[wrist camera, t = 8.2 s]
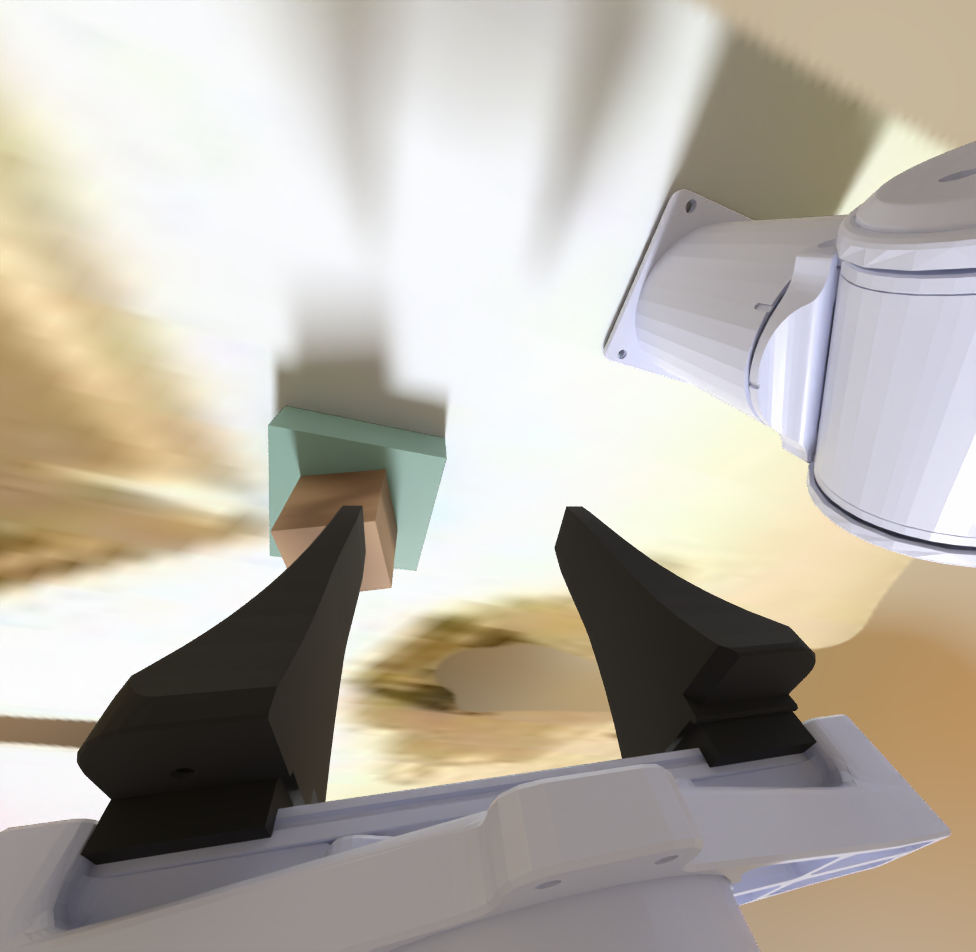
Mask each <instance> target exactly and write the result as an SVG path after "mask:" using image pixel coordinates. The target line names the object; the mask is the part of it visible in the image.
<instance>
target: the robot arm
mask: <svg viewBox="0 0 976 952" xmlns="http://www.w3.org/2000/svg"><path fill="white" fill-rule="evenodd" d="M688 201H690V202H691V204H692V206H691V209H690V211H689V212H688V213H687V212H686V204H687V203H688ZM621 350H624V353H623V355H622V356H621V357H618V353H619V352H620V351H621ZM604 356H605V358H607V359H608V360H610V361H613V362H616V363H620V364H623V365H627V366H630V367H634V368H637V369H641V370H644V371H648V372H651V373H654V374H658V375H661V376H665V377H668V378H672V379H675V380H679V381H682V382H686V383H689V384H692V385H693V386H695V387H697V388H699V389H701V390H703V391H704V392H706V393H708V394H710V395H712V396H714V397H715V398H717V399H719V400H721V401H723V402H725V403H726V404H728V405H730V406H732V407H734V408H735V409H737V410H739V411H741V412H743V413H745V414H746V415H748V416H750V417H752V418H754V419H756V420H757V421H759V422H761V423H763V424H765V425H767V426H769V427H770V428H772V429H774V430H775V431H776V432H778V433H779V435H780V436H781V439H782V447H783V449H785V450H787V451H788V452H790V453H792V454H794V455H795V456H797V457H799V458H800V459H802V460H804V461H805V462H807V463H810V464H809V467H808V475H807V487H808V492H809V494H810V496H811V498H812V500H813V502H814V504H815V505H816V506H817V507H818V508H819V510H820V511H821V512H822V513H823V514H824V515H825V516H826V517H827V518H829V519H830V520H831V521H832V522H833V523H835V524H836V525H838V526H839V527H841V528H842V529H844V530H846V531H847V532H849V533H850V534H852V535H854V536H856V537H858V538H861V539H863V540H865V541H867V542H869V543H871V544H874V545H877V546H879V547H882V548H884V549H887V550H890V551H893V552H896V553H900V554H903V555H907V556H910V557H914V558H918V559H923V560H928V561H933V562H938V563H942V564H951V565H958V566H967V567H976V141H974V142H972V143H969V144H966V145H964V146H961V147H958V148H956V149H953V150H951V151H948V152H946V153H943V154H941V155H939V156H936V157H934V158H932V159H929V160H927V161H925V162H923V163H921V164H918V165H916V166H914V167H912V168H910V169H908V170H906V171H904V172H902V173H901V174H899V175H897V176H895V177H894V178H892V179H891V180H889V181H888V182H886V183H885V184H884V185H882V186H881V187H880V188H879V189H878V190H877V191H876V192H875V193H874V194H872V195H871V196H870V197H869V198H868V199H867V200H866V201H865V202H864V203H863V204H861V205H859V206H858V207H857V208H855V209H854V210H853V211H852V212H851V213H850V214H848V215H833V216H818V217H802V218H786V219H770V220H753V219H750V218H748V217H746V216H744V215H742V214H740V213H738V212H735V211H733V210H731V209H729V208H727V207H725V206H722V205H720V204H718V203H716V202H714V201H712V200H709V199H707V198H705V197H703V196H701V195H699V194H696V193H694V192H692V191H690V190H688V189H682V190H678V191H676V192H675V193H674V194H673V195H672V196H671V198H670V199H669V202H668V204H667V206H666V209H665V211H664V213H663V215H662V218H661V220H660V222H659V225H658V227H657V229H656V231H655V234H654V236H653V238H652V241H651V243H650V245H649V247H648V250H647V252H646V254H645V257H644V259H643V261H642V263H641V266H640V268H639V270H638V273H637V275H636V277H635V280H634V282H633V284H632V286H631V289H630V291H629V293H628V296H627V298H626V300H625V302H624V305H623V307H622V309H621V312H620V314H619V316H618V318H617V321H616V323H615V325H614V328H613V330H612V332H611V334H610V337H609V339H608V341H607V344H606V346H605V348H604ZM555 552H556V555H557V559H558V563H559V566H560V569H561V573H562V575H563V578H564V580H565V582H566V585H567V587H568V589H569V592H570V594H571V596H572V598H573V601H574V603H575V605H576V607H577V610H578V612H579V614H580V616H581V619H582V621H583V623H584V626H585V628H586V631H587V633H588V636H589V639H590V642H591V645H592V648H593V651H594V654H595V657H596V660H597V663H598V667H599V670H600V674H601V677H602V680H603V684H604V687H605V691H606V695H607V698H608V702H609V706H610V710H611V714H612V717H613V721H614V725H615V730H616V734H617V738H618V743H619V747H620V751H621V756H622V759H618V760H611V761H604V762H597V763H591V764H584V765H577V766H570V767H563V768H556V769H549V770H542V771H535V772H529V773H522V774H515V775H508V776H501V777H494V778H487V779H480V780H473V781H467V782H460V783H453V784H446V785H439V786H432V787H425V788H418V789H411V790H405V791H398V792H391V793H384V794H377V795H370V796H363V797H356V798H349V799H343V800H336V801H329V802H325V800H326V791H327V782H328V773H329V765H330V756H331V748H332V740H333V732H334V725H335V717H336V710H337V702H338V695H339V688H340V681H341V674H342V667H343V660H344V654H345V649H346V644H347V640H348V636H349V632H350V628H351V624H352V620H353V616H354V612H355V608H356V604H357V600H358V596H359V592H360V588H361V583H362V579H363V572H364V564H365V555H366V546H365V532H364V518H363V506H342V507H341V508H340V509H339V510H338V512H337V513H336V514H335V516H334V517H333V518H332V520H331V521H330V522H329V523H328V525H327V526H326V527H325V528H324V529H323V531H322V532H321V533H320V534H319V535H318V536H317V538H316V539H315V540H314V541H313V542H312V543H311V544H310V546H309V547H308V548H307V549H306V550H305V551H304V552H303V553H302V554H301V555H300V556H299V557H298V558H297V559H296V560H295V561H294V562H293V563H292V564H291V565H290V566H289V567H288V568H287V569H286V570H285V571H284V572H283V573H282V574H281V575H280V576H279V577H278V578H277V579H275V580H274V581H273V582H272V583H271V584H270V585H269V586H267V587H266V588H265V589H264V590H263V591H262V592H260V593H259V594H258V595H257V596H255V597H254V598H253V599H251V600H250V601H249V602H248V603H246V604H245V605H244V606H242V607H241V608H240V609H238V610H237V611H236V612H234V613H233V614H232V615H230V616H229V617H228V618H226V619H225V620H223V621H222V622H220V623H219V624H217V625H216V626H214V627H213V628H211V629H210V630H208V631H207V632H205V633H204V634H202V635H201V636H199V637H197V638H196V639H194V640H193V641H191V642H189V643H188V644H186V645H185V646H183V647H181V648H180V649H178V650H176V651H174V652H173V653H171V654H169V655H167V656H166V657H164V658H162V659H160V660H159V661H157V662H155V663H153V664H152V665H150V666H148V667H146V668H145V669H143V670H141V671H139V672H137V673H136V674H134V675H132V676H131V677H130V678H129V680H128V681H127V682H126V683H125V685H124V686H123V687H122V688H121V690H120V691H119V692H118V694H117V695H116V696H115V697H114V699H113V700H112V702H111V703H110V705H109V706H108V708H107V709H106V710H105V712H104V713H103V715H102V716H101V718H100V719H99V721H98V722H97V724H96V725H95V727H94V729H93V730H92V731H91V733H90V734H89V736H88V737H87V739H86V740H85V742H84V743H83V745H82V746H81V748H80V749H79V751H78V753H77V763H78V765H79V767H80V768H81V770H82V771H83V773H84V774H85V775H86V776H87V777H88V778H89V779H90V780H91V781H92V782H93V783H94V784H95V785H96V786H98V787H99V788H100V789H101V790H102V791H103V792H104V793H105V794H106V795H107V796H108V797H109V798H110V799H111V801H110V802H109V804H108V806H107V808H106V810H105V811H104V813H103V815H102V817H101V819H100V820H99V822H98V821H96V820H91V819H70V820H63V821H55V822H48V823H41V824H33V825H26V826H19V827H11V828H7V829H6V830H4V831H2V832H0V952H761V951H760V949H759V947H758V945H757V943H756V941H755V939H754V937H753V935H752V933H751V930H750V928H749V927H748V924H747V922H746V920H745V918H744V916H743V914H742V912H741V910H740V908H739V905H743V904H746V903H750V902H753V901H757V900H760V899H764V898H767V897H770V896H774V895H777V894H781V893H784V892H787V891H791V890H795V889H798V888H801V887H805V886H809V885H812V884H815V883H819V882H823V881H826V880H830V879H834V878H837V877H841V876H845V875H849V874H853V873H857V872H861V871H864V870H868V869H872V868H876V867H879V866H881V865H883V864H886V863H888V862H890V861H893V860H895V859H897V858H900V857H902V856H904V855H907V854H909V853H911V852H913V851H916V850H918V849H920V848H923V847H925V846H927V845H930V844H932V843H934V842H937V841H939V840H941V839H944V838H946V837H948V836H951V830H950V829H949V828H948V827H947V825H946V824H945V823H944V822H943V821H942V820H941V819H940V818H939V817H938V815H937V814H936V813H935V812H934V811H933V810H932V809H931V808H930V807H929V806H928V805H927V803H926V802H925V801H924V800H923V799H922V798H921V797H920V796H919V795H918V793H917V792H916V791H915V790H914V789H913V788H912V787H911V786H910V785H909V784H908V782H907V781H906V780H905V779H904V778H903V777H902V776H901V775H900V774H899V772H898V771H896V769H895V768H894V767H893V766H892V765H891V764H890V763H889V761H888V760H887V759H886V758H885V757H884V756H883V755H882V754H881V753H880V752H879V750H878V749H877V748H876V747H875V746H874V745H873V744H872V743H871V742H870V741H869V740H868V738H867V737H866V736H865V735H864V734H863V733H862V732H861V731H860V729H858V727H857V726H856V725H855V724H854V723H853V722H852V721H851V720H850V718H849V717H848V716H846V715H843V714H840V715H832V716H825V717H818V718H813V719H809V720H807V721H804V722H803V723H801V721H800V720H799V719H798V718H797V716H796V715H795V714H794V713H793V711H796V710H797V709H798V707H797V704H796V703H795V702H794V700H793V699H792V698H791V697H790V696H789V693H790V692H791V691H792V690H793V689H794V688H795V687H796V686H797V685H798V684H799V683H800V682H801V681H802V680H803V679H804V678H805V677H806V676H807V675H808V674H809V673H810V671H811V670H812V669H813V667H814V665H815V653H814V652H813V651H812V650H811V649H810V648H809V647H808V646H807V645H806V644H805V643H804V642H803V641H802V640H801V638H800V637H799V636H798V635H797V634H796V633H795V632H794V631H793V630H792V629H791V628H790V627H789V626H786V625H783V624H781V623H778V622H776V621H773V620H770V619H768V618H765V617H763V616H760V615H757V614H755V613H752V612H750V611H747V610H745V609H743V608H740V607H738V606H736V605H734V604H731V603H729V602H727V601H725V600H723V599H721V598H718V597H716V596H714V595H712V594H710V593H708V592H706V591H704V590H702V589H701V588H699V587H697V586H695V585H693V584H691V583H689V582H687V581H686V580H684V579H682V578H680V577H679V576H677V575H675V574H674V573H672V572H670V571H669V570H667V569H666V568H664V567H662V566H661V565H659V564H658V563H656V562H655V561H653V560H652V559H650V558H649V557H647V556H646V555H645V554H643V553H642V552H640V551H639V550H637V549H636V548H635V547H633V546H632V545H631V544H629V543H628V542H627V541H625V540H624V539H623V538H622V537H620V536H619V535H618V534H616V533H615V532H614V531H613V530H611V529H610V528H609V527H608V526H606V525H605V524H604V523H603V522H601V521H600V520H599V519H598V518H596V517H595V516H594V515H593V514H591V513H590V512H589V511H587V510H586V509H585V508H583V507H566V510H565V513H564V517H563V520H562V524H561V527H560V531H559V534H558V538H557V541H556V545H555Z"/></svg>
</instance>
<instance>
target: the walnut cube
mask: <svg viewBox="0 0 976 952" xmlns="http://www.w3.org/2000/svg"><path fill="white" fill-rule="evenodd" d="M342 506H363V518H364V532H365V546H366V555H365V564H364V572H363V579H362V583H361V588H360V591H368V590H377V589H385V588H391V586H392V577H393V568H394V558H395V549H396V540H397V531H398V530H397V525H396V520H395V515H394V510H393V505H392V500H391V495H390V490H389V485H388V480H387V475H386V471H385V469H381V470H369V471H357V472H345V473H333V474H321V475H309V476H300V478H299V480H298V482H297V484H296V486H295V487H294V489H293V491H292V493H291V495H290V496H289V498H288V500H287V502H286V504H285V506H284V507H283V509H282V511H281V513H280V515H279V517H278V518H277V520H276V522H275V524H274V526H273V528H272V529H271V531H270V532H271V534H272V536H273V538H274V540H275V543H276V545H277V547H278V549H279V551H280V554H281V556H282V558H283V560H284V562H285V565H286V567H287V568H288V567H289V566H290V565H291V564H292V563H293V562H294V561H295V560H296V559H297V558H298V557H299V556H300V555H301V554H302V553H303V552H304V551H305V550H306V549H307V548H308V547H309V546H310V544H311V543H312V542H313V541H314V540H315V539H316V538H317V536H318V535H319V534H320V533H321V532H322V531H323V529H324V528H325V527H326V526H327V525H328V523H329V522H330V521H331V520H332V518H333V517H334V516H335V514H336V513H337V512H338V510H339V509H340V508H341V507H342Z"/></svg>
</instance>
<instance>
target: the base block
mask: <svg viewBox="0 0 976 952" xmlns="http://www.w3.org/2000/svg"><path fill="white" fill-rule="evenodd" d="M268 439H269V527H270V531H271V529H272V528H273V526H274V524H275V522H276V520H277V518H278V517H279V515H280V513H281V511H282V509H283V507H284V506H285V504H286V502H287V500H288V498H289V496H290V495H291V493H292V491H293V489H294V487H295V486H296V484H297V482H298V480H299V478H300V476H309V475H321V474H333V473H345V472H357V471H369V470H381V469H385V471H386V475H387V480H388V485H389V490H390V495H391V500H392V505H393V510H394V515H395V520H396V525H397V530H398V531H397V540H396V549H395V558H394V568H395V569H405V570H415V571H416V570H417V566H418V562H419V559H420V555H421V551H422V548H423V544H424V540H425V537H426V533H427V529H428V525H429V522H430V518H431V514H432V511H433V507H434V503H435V499H436V496H437V492H438V488H439V485H440V481H441V477H442V474H443V470H444V466H445V462H446V459H447V458H446V446H445V438H442V437H437V436H432V435H427V434H422V433H417V432H412V431H407V430H402V429H397V428H393V427H388V426H383V425H378V424H373V423H368V422H363V421H358V420H353V419H348V418H343V417H338V416H333V415H328V414H324V413H319V412H314V411H309V410H304V409H299V408H294V407H289V406H285V407H284V408H283V409H282V410H281V411H280V412H279V413H278V415H277V416H276V417H275V418H274V419H273V420H272V421H271V423H270V424H269V425H268ZM270 556H277V557H282V556H281V554H280V551H279V549H278V547H277V545H276V543H275V540H274V538H273V536H272V534H271V532H270Z"/></svg>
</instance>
